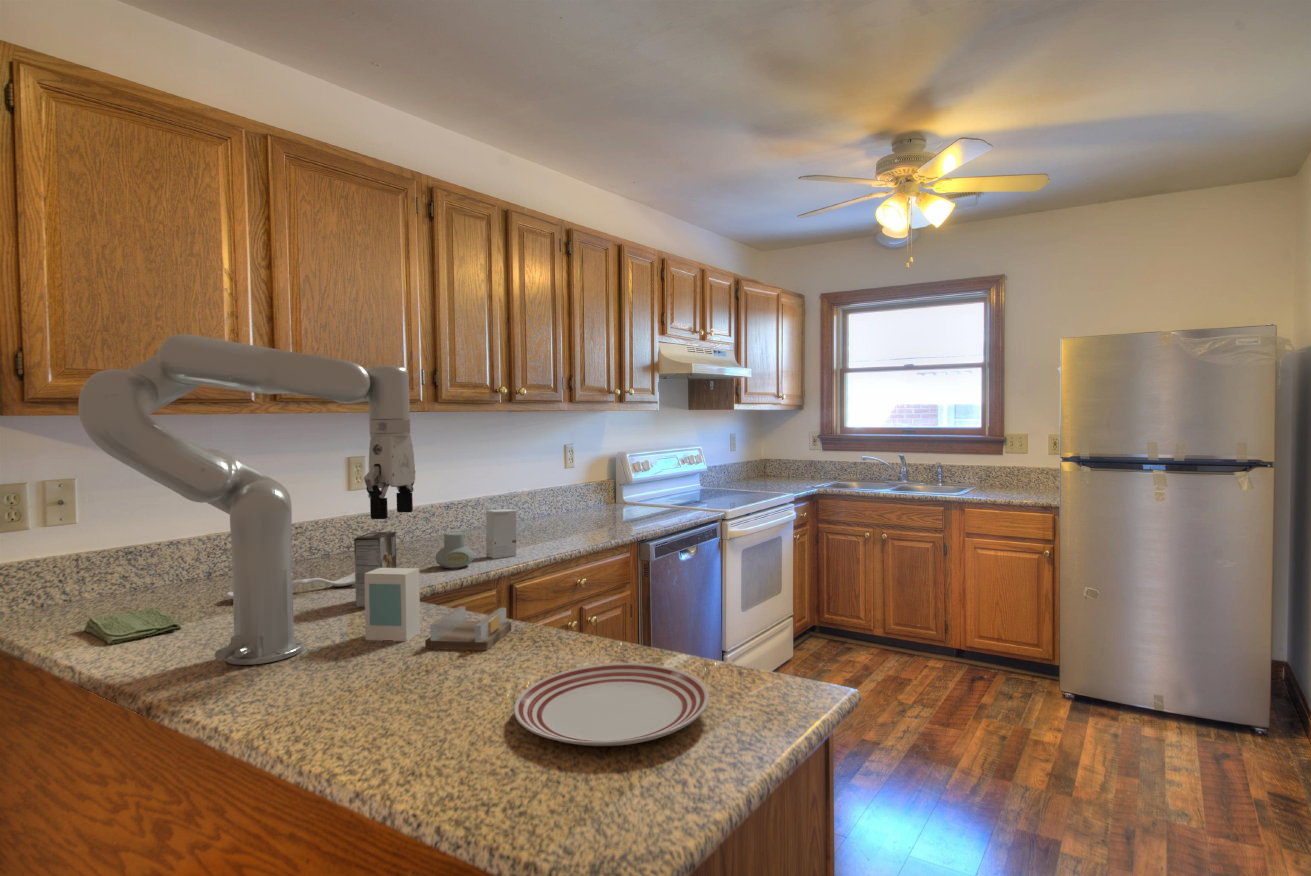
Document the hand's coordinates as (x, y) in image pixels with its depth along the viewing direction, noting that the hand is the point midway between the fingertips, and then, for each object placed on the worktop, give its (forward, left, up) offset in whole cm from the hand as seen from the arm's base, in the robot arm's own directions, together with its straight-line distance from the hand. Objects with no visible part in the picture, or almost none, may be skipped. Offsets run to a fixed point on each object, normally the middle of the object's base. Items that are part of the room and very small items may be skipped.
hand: (392, 515), depth 137 cm
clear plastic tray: (0, -16, -22) cm, 28 cm away
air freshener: (+66, +17, -24) cm, 72 cm away
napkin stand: (0, -16, -24) cm, 29 cm away
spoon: (+32, +43, -25) cm, 59 cm away
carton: (0, 0, -24) cm, 24 cm away
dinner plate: (-32, -51, -24) cm, 65 cm away
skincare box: (+83, +9, -24) cm, 87 cm away
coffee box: (+25, +18, -24) cm, 39 cm away
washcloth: (-2, +56, -25) cm, 62 cm away
